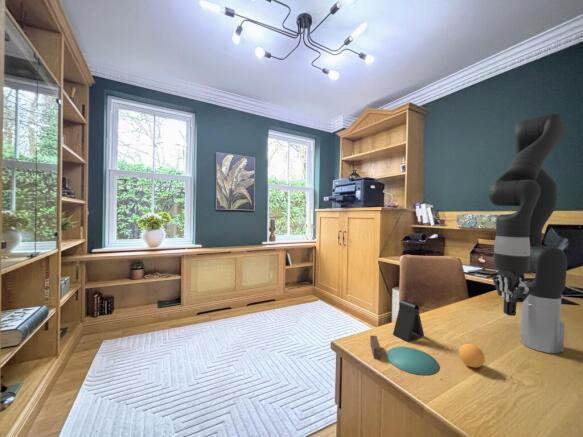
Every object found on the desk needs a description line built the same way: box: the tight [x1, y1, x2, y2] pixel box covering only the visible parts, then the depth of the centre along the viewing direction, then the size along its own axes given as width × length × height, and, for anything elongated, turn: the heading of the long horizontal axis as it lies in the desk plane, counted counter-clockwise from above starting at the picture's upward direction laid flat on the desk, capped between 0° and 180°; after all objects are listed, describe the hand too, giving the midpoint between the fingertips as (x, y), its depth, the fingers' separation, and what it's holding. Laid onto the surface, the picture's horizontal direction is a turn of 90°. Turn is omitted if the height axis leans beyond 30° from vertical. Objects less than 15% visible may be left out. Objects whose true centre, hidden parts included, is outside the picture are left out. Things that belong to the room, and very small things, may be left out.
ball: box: [458, 343, 485, 369], centre depth 72 cm, size 6×6×6 cm
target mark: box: [386, 346, 440, 376], centre depth 75 cm, size 14×14×1 cm
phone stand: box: [392, 299, 425, 343], centre depth 90 cm, size 9×6×12 cm, turn 118°
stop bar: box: [369, 335, 382, 359], centre depth 80 cm, size 2×8×3 cm, turn 170°
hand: (509, 314), depth 70 cm, fingers closed
